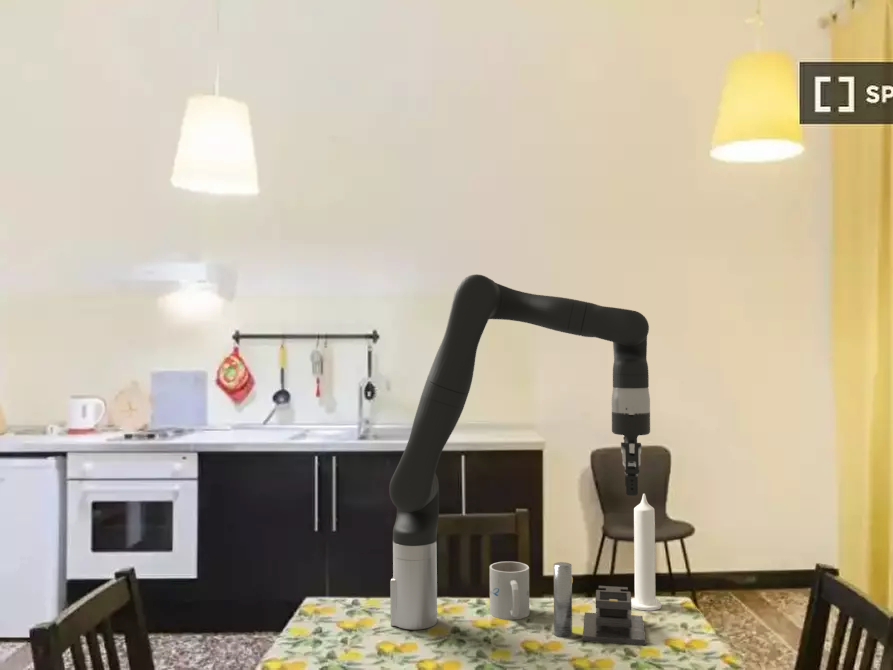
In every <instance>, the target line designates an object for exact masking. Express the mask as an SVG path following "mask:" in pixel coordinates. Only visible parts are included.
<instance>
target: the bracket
mask: <svg viewBox="0 0 893 670" xmlns="http://www.w3.org/2000/svg"><path fill="white" fill-rule="evenodd" d="M628 588H629V587H628V586H609V585H607V586H606V585H598V589H596V590H595V612H584V619H583V629H582V641H583V642H592V643H593V642H594V643H608V644H621V645H635V646H636V645H638V646H646V635H645V628H644V627H645V626H644V619H643V617H644V616H643V615H634V614H633V615H632V607H631V599H632V597H631V596H632V594H631V593H632V592H631V591H629V589H628Z"/></svg>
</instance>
